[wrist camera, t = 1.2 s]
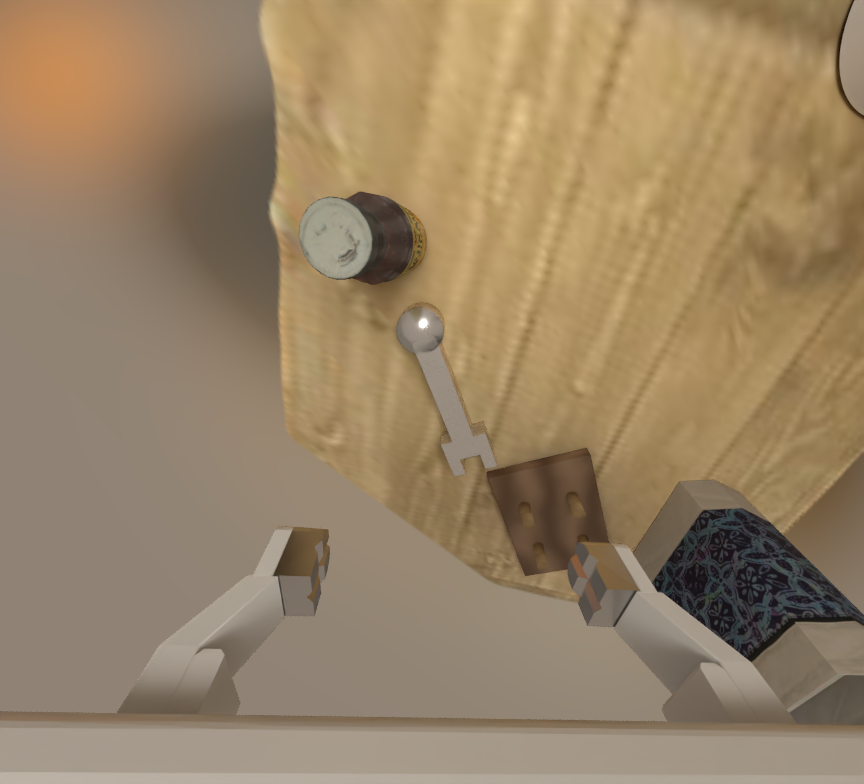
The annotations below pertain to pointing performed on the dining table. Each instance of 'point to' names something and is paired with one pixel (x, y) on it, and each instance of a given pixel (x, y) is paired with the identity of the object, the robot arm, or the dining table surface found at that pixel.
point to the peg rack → (549, 509)
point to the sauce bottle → (362, 238)
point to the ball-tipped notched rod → (444, 387)
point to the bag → (759, 599)
